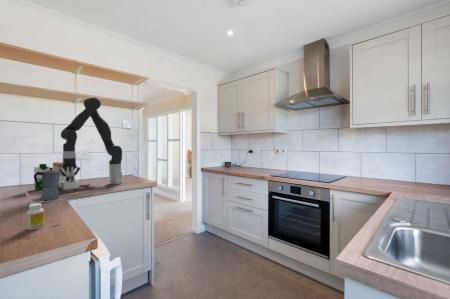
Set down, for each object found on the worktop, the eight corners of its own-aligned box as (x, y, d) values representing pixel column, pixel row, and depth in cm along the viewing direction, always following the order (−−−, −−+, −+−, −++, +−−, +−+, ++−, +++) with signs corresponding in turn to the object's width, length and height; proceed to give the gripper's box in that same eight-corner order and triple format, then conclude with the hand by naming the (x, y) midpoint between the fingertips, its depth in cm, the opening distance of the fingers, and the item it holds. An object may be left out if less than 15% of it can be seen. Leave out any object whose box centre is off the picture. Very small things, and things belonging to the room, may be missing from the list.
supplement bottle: (47, 225, 92) (47, 202, 92) (34, 230, 87) (34, 206, 86) (37, 224, 93) (36, 202, 92) (23, 229, 87) (23, 206, 87)
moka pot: (67, 197, 140) (66, 166, 140) (40, 203, 126) (39, 169, 125) (57, 196, 143) (56, 166, 143) (29, 202, 129) (28, 168, 128)
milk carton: (36, 192, 155) (36, 164, 154) (33, 190, 160) (32, 164, 159) (52, 190, 162) (51, 163, 161) (47, 188, 167) (47, 163, 166)
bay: (90, 187, 171) (89, 176, 170) (95, 190, 161) (94, 178, 161) (53, 192, 154) (53, 180, 154) (56, 195, 145) (56, 182, 145)
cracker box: (59, 190, 161) (58, 162, 161) (52, 190, 162) (51, 162, 162) (75, 186, 175) (75, 161, 174) (69, 186, 176) (68, 160, 176)
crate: (75, 188, 162) (75, 174, 162) (79, 190, 155) (78, 176, 155) (61, 190, 156) (60, 176, 156) (63, 192, 149) (63, 177, 149)
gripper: (79, 156, 163) (79, 179, 163) (56, 157, 153) (57, 182, 153) (81, 157, 157) (82, 180, 158) (58, 158, 147) (58, 183, 148)
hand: (69, 181), depth 155 cm, fingers closed on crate
